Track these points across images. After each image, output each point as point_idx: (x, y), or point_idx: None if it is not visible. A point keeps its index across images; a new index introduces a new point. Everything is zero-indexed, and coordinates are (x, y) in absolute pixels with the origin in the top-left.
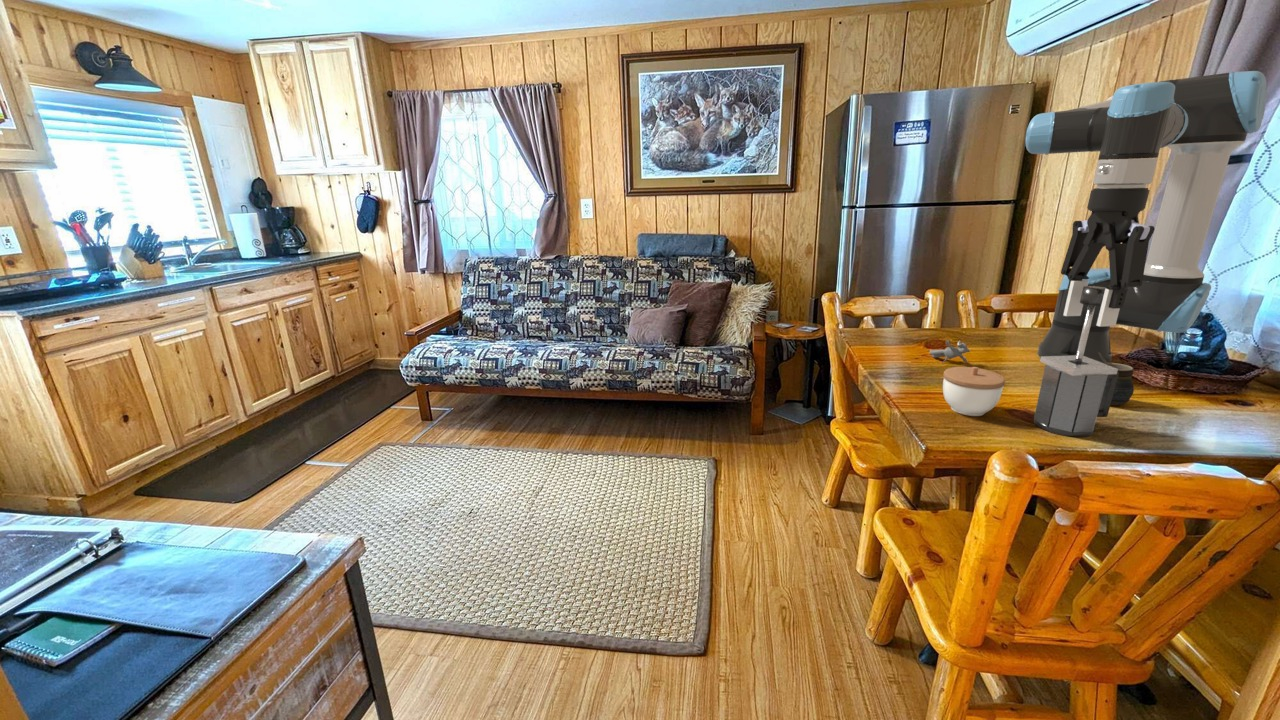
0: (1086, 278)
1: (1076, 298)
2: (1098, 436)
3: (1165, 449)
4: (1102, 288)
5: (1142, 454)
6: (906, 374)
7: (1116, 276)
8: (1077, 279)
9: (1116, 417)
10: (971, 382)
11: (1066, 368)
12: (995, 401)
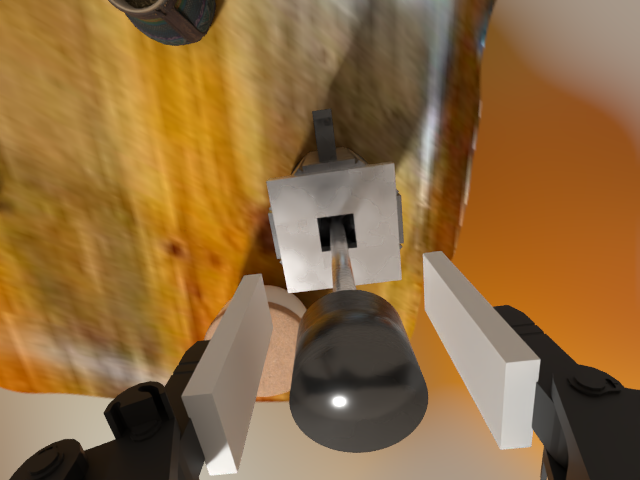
0: (168, 402)
1: (252, 355)
2: (372, 154)
3: (427, 65)
4: (379, 380)
5: (444, 125)
6: (99, 343)
7: None
8: (196, 452)
9: (278, 53)
10: None
11: (378, 281)
12: (304, 307)
